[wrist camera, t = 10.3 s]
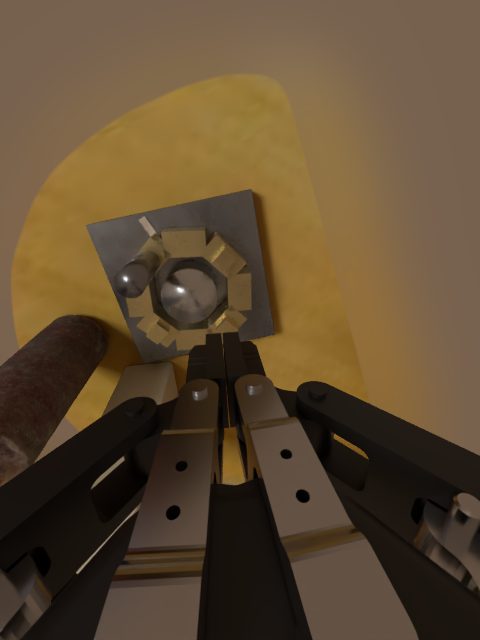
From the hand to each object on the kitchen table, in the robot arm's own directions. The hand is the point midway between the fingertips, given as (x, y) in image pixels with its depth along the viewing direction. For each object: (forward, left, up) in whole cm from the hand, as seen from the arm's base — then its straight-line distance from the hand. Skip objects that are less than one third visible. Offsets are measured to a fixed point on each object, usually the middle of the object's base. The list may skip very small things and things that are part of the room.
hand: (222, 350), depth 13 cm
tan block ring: (-3, +3, -21) cm, 22 cm away
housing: (-3, +3, -24) cm, 24 cm away
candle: (-7, +19, -24) cm, 31 cm away
